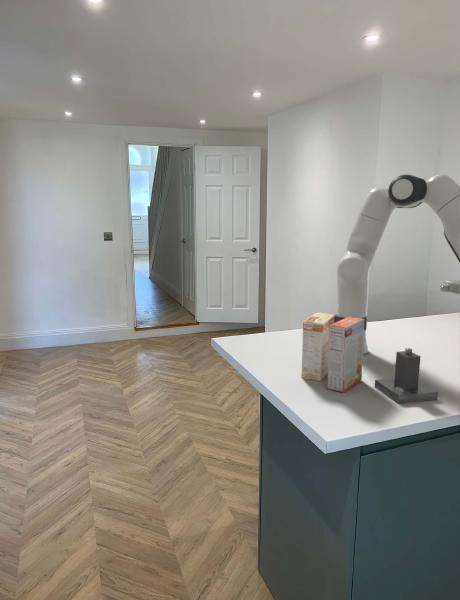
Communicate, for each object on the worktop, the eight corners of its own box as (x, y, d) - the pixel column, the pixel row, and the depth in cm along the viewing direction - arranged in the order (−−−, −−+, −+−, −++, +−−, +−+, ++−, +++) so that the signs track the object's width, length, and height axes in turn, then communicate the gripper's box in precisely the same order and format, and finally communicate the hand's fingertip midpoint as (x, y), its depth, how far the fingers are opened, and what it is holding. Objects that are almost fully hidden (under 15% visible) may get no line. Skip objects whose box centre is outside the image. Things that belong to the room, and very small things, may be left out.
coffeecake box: (313, 364, 166) (315, 312, 162) (333, 367, 163) (335, 314, 159) (300, 378, 153) (302, 321, 149) (321, 381, 150) (323, 323, 146)
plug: (393, 388, 142) (396, 347, 140) (406, 387, 143) (409, 346, 141) (404, 395, 137) (407, 352, 134) (417, 394, 138) (420, 351, 135)
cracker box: (345, 376, 154) (348, 315, 150) (362, 380, 151) (366, 318, 147) (325, 388, 144) (328, 323, 140) (343, 393, 140) (346, 327, 136)
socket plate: (374, 387, 145) (375, 377, 144) (410, 383, 148) (411, 373, 147) (398, 403, 132) (399, 393, 132) (437, 399, 135) (438, 389, 135)
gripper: (466, 275, 156) (431, 276, 153) (516, 284, 136) (476, 286, 133) (465, 293, 157) (429, 295, 154) (514, 305, 137) (474, 307, 134)
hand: (451, 291), depth 143 cm, fingers open, 8 cm apart
